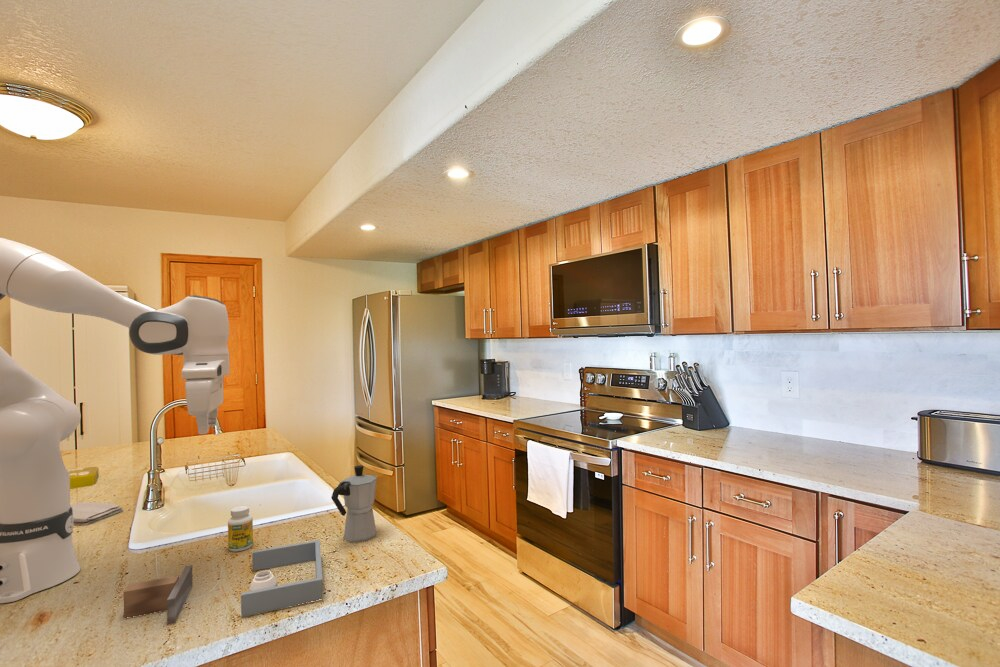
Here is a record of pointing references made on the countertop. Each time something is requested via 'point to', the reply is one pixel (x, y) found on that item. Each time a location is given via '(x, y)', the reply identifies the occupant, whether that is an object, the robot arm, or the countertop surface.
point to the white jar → (263, 581)
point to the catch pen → (284, 593)
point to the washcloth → (93, 512)
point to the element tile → (83, 477)
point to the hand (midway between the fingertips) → (207, 429)
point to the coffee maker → (357, 505)
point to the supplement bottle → (240, 529)
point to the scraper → (159, 596)
